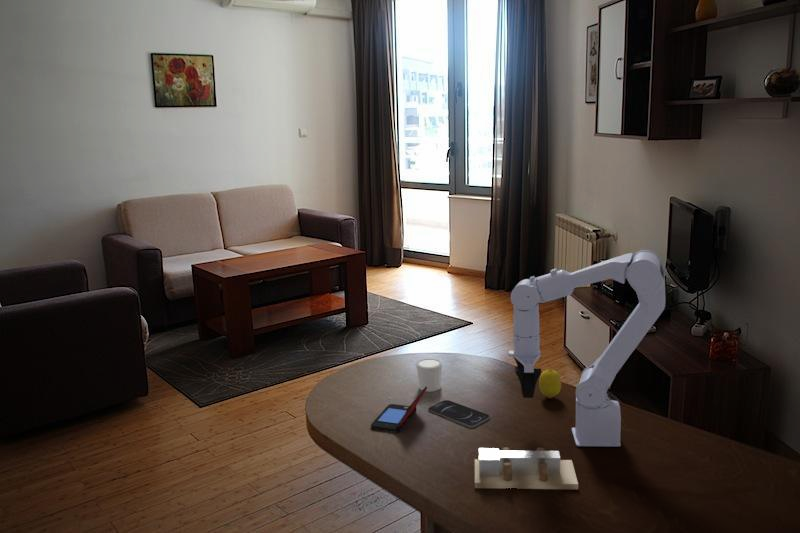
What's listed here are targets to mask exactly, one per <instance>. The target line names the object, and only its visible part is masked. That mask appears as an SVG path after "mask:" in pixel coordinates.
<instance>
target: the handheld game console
mask: <svg viewBox="0 0 800 533" xmlns="http://www.w3.org/2000/svg"><path fill="white" fill-rule="evenodd" d="M426 389H427V387H425V388H424V389H423V390H421V391H420V392H419V394H418V395H417V397H416V398H415V399H414V400H413V402H412V403H411V404H410V405H402V404H394V403H390V404H388V405H387V406H386V407H385V408H384V410H382V411H381V412H380V414H379V415H378V416H376V418H375V419H374V420H373V422H372V423H370V428H371V429H372V430H376V431H382V432H383V431H384V432H388V433H389V432H391V433H396V434H399V433H400V432H401V430H402V429H403V428H404V426H405V425H406V422H407V421H408V420H409V419H411V418H412V416H413V415H414V414H416V411H417V406H418V404H419V403H420V401H421V399H422V398H423V396H424V395H425V392H427V391H426Z"/></svg>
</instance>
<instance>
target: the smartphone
mask: <svg viewBox="0 0 800 533" xmlns="http://www.w3.org/2000/svg"><path fill="white" fill-rule="evenodd" d="M427 410H428V412H429V413H432V414H434V415H436V416H440V417H441V418H444V419H446V420H449V421H452V422H453V423H457V424H459V425H461V426H464V427H466V428H468V429H473V428H476V427H478V426H481V425H482V424H483V423H485V422H487V421H489V420H490V419H491V416H490V415H489V414H487V413H485V412H482V411H480V410H476V409H474V408H471V407H469V406H466V405H463V404H460V403H457V402H455V401H452V400H448V399H444V400H442V401H440V402H438V403H436V404H434V405H431V406H430V407H428V408H427Z"/></svg>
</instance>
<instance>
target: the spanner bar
mask: <svg viewBox="0 0 800 533" xmlns="http://www.w3.org/2000/svg"><path fill="white" fill-rule="evenodd" d="M478 459H479V473H480V477H500V475H504V473H503V464H504V463H506V462H508V463H511V464H512V475H539V464H540V463H546V464H547V465H548V475H560V460H561V455H560V451H559V450H545V451H537V450H510V451H502V450H500V449H499V448H497V447H496V448H495V447H492V448H491V447H490V448H489V447H479V448H478Z"/></svg>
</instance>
